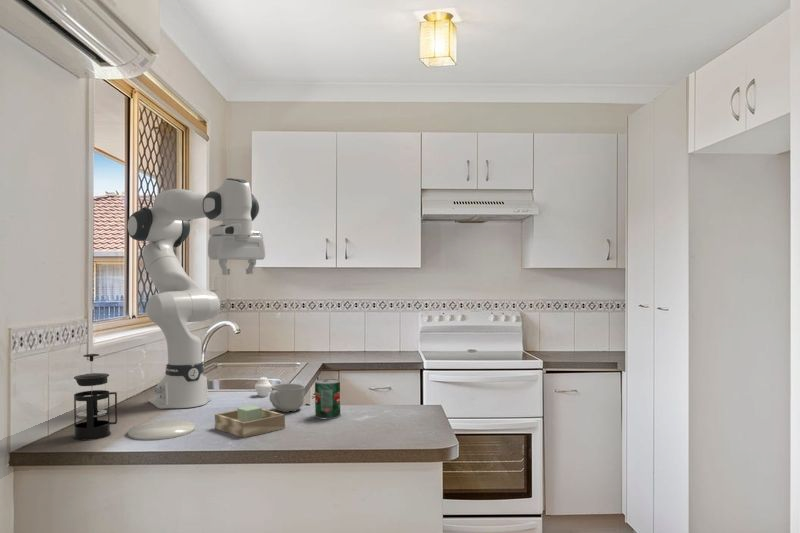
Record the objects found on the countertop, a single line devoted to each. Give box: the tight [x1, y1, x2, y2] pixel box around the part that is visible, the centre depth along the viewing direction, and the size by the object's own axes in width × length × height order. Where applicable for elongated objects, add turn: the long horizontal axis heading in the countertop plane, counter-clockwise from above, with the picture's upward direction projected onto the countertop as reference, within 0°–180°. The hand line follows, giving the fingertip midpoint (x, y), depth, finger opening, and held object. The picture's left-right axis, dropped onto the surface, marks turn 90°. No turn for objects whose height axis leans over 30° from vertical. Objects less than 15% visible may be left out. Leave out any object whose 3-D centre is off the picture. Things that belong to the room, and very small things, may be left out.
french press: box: [73, 353, 118, 441], centre depth 180 cm, size 12×9×23 cm
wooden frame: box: [214, 408, 286, 438], centre depth 186 cm, size 16×14×4 cm
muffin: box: [254, 376, 273, 398], centre depth 233 cm, size 6×6×7 cm
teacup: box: [269, 383, 306, 413], centre depth 208 cm, size 14×11×8 cm
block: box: [236, 405, 263, 422], centre depth 186 cm, size 5×5×6 cm
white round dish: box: [127, 419, 196, 441], centre depth 184 cm, size 18×18×1 cm
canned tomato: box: [314, 378, 341, 420], centre depth 201 cm, size 8×8×11 cm
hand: (238, 274), depth 200 cm, fingers open, 8 cm apart
